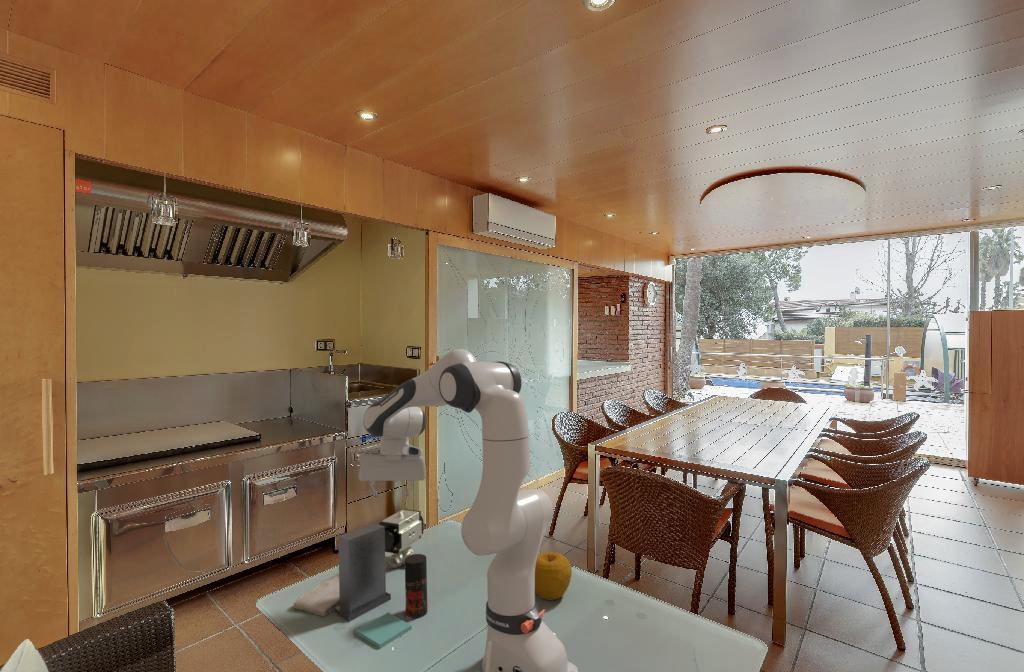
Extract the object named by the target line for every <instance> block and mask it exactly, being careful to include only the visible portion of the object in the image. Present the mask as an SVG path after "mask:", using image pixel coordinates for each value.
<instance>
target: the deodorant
mask: <svg viewBox="0 0 1024 672" xmlns="http://www.w3.org/2000/svg"><path fill="white" fill-rule="evenodd" d="M427 564H428V563H427V556H426V555H425V554H421V553H415V554H413V555H410V556H408V557H406V558H405V565H404V583H405V584H404V585H405V588H404V590H405V591H404V592H405V615H406V617H407V618H409V619H420V618H423V617H424V616H426V615H427V614H428V581H427V580H428V571H427V569H428V568H427V567H428V565H427Z"/></svg>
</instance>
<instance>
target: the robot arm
mask: <svg viewBox="0 0 1024 672" xmlns="http://www.w3.org/2000/svg"><path fill="white" fill-rule="evenodd" d="M522 382H523V381H522V376H521V373H520V370H519V369H518V368H517V367H516V365H513V364H512V363H508V362H505V361H499V360H498V361H482V360H480V361H478V360H477V359H476V357H475V356H474V354H473V353H472V352H470V351H469V350H467V349H464V348H456V349H452V350H450V351H448V352H447V353H446V354H444V355H443V356H441V357H440V358H439V359H438V360H437V361H436V362H435V363H434V364H433V365H432V366H431V367H430V368H428V369H427V370H426V371H424V372H423V373H421V374H420V375H418V376H416V377H413V378H411V379H408V380H406V381H404V382H402V383H401V384H399V385H398V386H397V387H395V388H394V389H393V390H392V391H390V392H389V393H388V394H386V395H385V396H384V397H383V398H382V399H380V400H378V401H375V402H373V403H372V404H370V405H369V406H368V407H367V409H366V410H365V413H364V416H363V427H364V430H365V431H366V432H367V434H369V435H370V436H371V437H372V438H373V437H374V438H380V441H379V442H380V443H379V449H377V450H376V449H371V450H369V449H366V450H364V451H361V453H359V457H358V463H359V465H360V466H359V472H358V480H359V481H360V482H370V483H369V485H370V487H371V490H372V497H373V498H375V497H376V498H378V497H379V490H376V489H375V487H374V486H375V484H376V482H389V481H390V482H392V481H394V482H395V481H396V482H399V481H400V482H401V481H403V482H405V481H406V482H408V485H409V486H408V489H407V490H404V496H403V497H410V494H411V492H410V491H411V490H412V488H413V486H414V485H415V484H414V483H415V481H418V482H419V481H420V482H421V481H424V480H425V479H426V477H427V476H426V475H427V473H426V463H425V461H426V460H424V458H423V452H424V451H423V449H422V448H419V447H416V446H413V445H410V439H409V438H417V437H419V436H421V435H422V434H423V433H424V432H425V429H426V428H427V415H426V413H425V411H424V410H423V409H422V408H421V407H433V408H434V407H436V408H437V407H445V406H447V405H448V406H450V407H452V408H455V409H460V410H461V411H463V412H465V413H468V414H469V413H471V412H473V410H476V412H478V414H479V416H480V419H481V437H482V439H481V440H482V441H481V442H482V472H481V473H482V474H481V479H480V482H479V483H480V484H479V487H478V490H477V493H476V496H475V497H474V498H475V499H474V500H473V503H472V505H471V507H470V508H469V510H468V511H467V513H466V514H465V515H464V516H463V518H462V521H461V528H460V530H461V531H460V532H461V533H460V534H461V537H462V538H461V539H462V541H463V544H464V545H465V547H466V548H467V549H468V550H469V552H471V553H473V555H475V556H479V557H482V556H489V555H495V556H494V557H493V558H492V560H491V561H490V564H489V565H488V568H487V572H486V577H487V578H486V581H487V582H486V583H487V584H486V585H487V601H486V603H485V620H486V621H485V622H486V624H487V629H486V630H487V632H486V642H485V649H484V654H483V658H482V660H481V668H482V671H484V672H579V669H578V667H577V666H576V665H575V664H574V663H572V662H570V661H569V660H568V655H567V651H566V647H565V644H563V642H562V641H561V640H560V639H559V638H558V636H557V634H556V633H555V632H554V631H552V630H551V629H550V628H549V627H548V626H547V624H546V623H545V622H544V621H543V617H544V616H545V614H546V612H545V611H546V609H542V610H541V611H540V608H539V605H538V602H537V600H536V592H535V567H536V561H537V556H538V554H539V552H540V548H541V545H542V541H543V538H544V535H545V533H546V531H547V529H548V527H549V526H550V524H551V523H552V521H553V518H554V504H553V503H552V500H551V499H550V497H549V495H548V494H547V493H546V492H544V491H543V490H542V489H539V488H523V489H521V486H522V484H523V482H524V480H525V479H526V477H527V476H528V474H529V472H530V470H531V455H530V454H531V453H530V452H531V451H530V436H529V435H530V431H529V422H528V421H529V420H528V415H527V411H526V406H525V402H524V398H523V397H522V395H521V393H520V392H521V389H522Z"/></svg>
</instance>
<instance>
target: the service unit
mask: <svg viewBox="0 0 1024 672" xmlns="http://www.w3.org/2000/svg"><path fill="white" fill-rule="evenodd" d="M337 537H338V540H337V541H338V576H339V598H340V605H339V606H337V607H335V608H334V610H333V611H334V614H335V615H337V616H338V617H340V618H342V619H343V620H344V621H347V622H349V623H350V622H351V621H354V620H355V619H358V618H359V617H361V616H363V615H364V614H367V613H368V612H370V611H372V610H374V609H376V608H378V607H380V606H382V605H383V604H385V603H387V602H389V601H390V600H392V594H391V593H389V592H387V590H386V589H387V588H386V587H387V584H386V583H387V581H386V552H385V526H382V525H379V524H378V523H376V522H373V523H370V524H368V525H364V526H362V527H359V528H356V529H354V530H351V531H349V532H346V533H343V534H340V535H338V536H337Z"/></svg>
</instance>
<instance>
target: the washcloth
mask: <svg viewBox="0 0 1024 672" xmlns="http://www.w3.org/2000/svg"><path fill="white" fill-rule="evenodd" d="M339 605H340V598H339V575H337V576H336V575H335V576H333V578H331V579H329V580H327V581H326V580H325V581H322V582H321V583H320V584H318V585H316V587H314V588H312V589H310V590H308V591H307V592H306V593H304V594H303V595H301V596H299V597H297V599H296V600H295V601H294V602H293V604H292V606H293V608H294V609H295V608H296V609H295V610H298V609H299V610H298V611H302V610H305V611H304V612H307V611H308V613H311V614H312V613H313V615H317V616H320V615H321V617H326V616H327V615H329V614H330V613H331V611H332V612H333V611H335V610H334V608H335V607H337V606H339ZM328 613H329V614H328Z"/></svg>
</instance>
